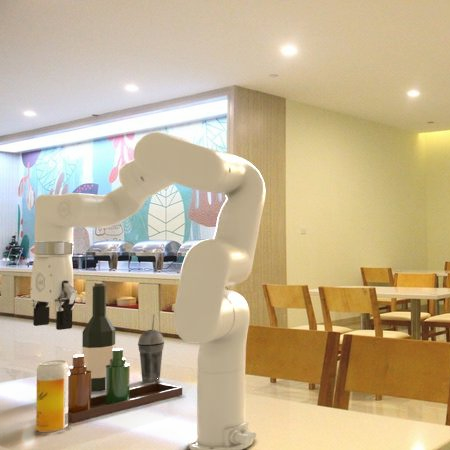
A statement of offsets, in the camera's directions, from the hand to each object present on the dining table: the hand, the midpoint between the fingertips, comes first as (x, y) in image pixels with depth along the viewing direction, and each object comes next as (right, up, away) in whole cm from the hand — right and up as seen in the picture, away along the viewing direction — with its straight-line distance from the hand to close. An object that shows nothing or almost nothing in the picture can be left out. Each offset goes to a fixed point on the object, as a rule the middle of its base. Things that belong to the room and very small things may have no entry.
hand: (52, 327), depth 135 cm
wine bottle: (-7, -24, +35) cm, 43 cm away
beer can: (0, -23, -1) cm, 23 cm away
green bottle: (+6, -23, +18) cm, 29 cm away
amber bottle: (+1, -22, +9) cm, 24 cm away
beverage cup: (+4, -24, +43) cm, 50 cm away
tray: (+7, -23, +18) cm, 30 cm away
